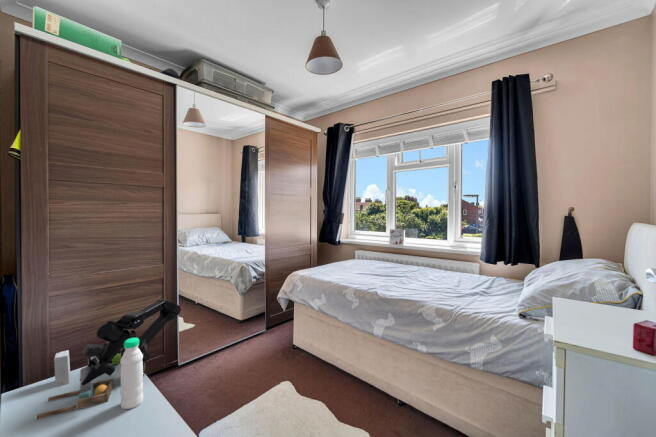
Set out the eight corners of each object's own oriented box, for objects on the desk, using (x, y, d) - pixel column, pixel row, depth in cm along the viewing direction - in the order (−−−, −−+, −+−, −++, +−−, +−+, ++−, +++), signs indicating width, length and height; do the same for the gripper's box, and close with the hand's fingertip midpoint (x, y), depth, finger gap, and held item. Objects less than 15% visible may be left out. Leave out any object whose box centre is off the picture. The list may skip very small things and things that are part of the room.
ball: (108, 381, 113) (95, 384, 111) (105, 386, 109) (92, 390, 107) (108, 390, 113) (96, 393, 111) (106, 396, 109) (93, 400, 108)
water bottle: (131, 411, 102) (131, 345, 101) (116, 408, 103) (115, 343, 102) (147, 398, 109) (147, 336, 108) (132, 395, 110) (132, 334, 109)
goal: (113, 385, 117) (113, 378, 116) (107, 401, 107) (107, 393, 107) (49, 400, 107) (49, 392, 107) (36, 419, 97) (36, 411, 97)
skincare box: (69, 383, 117) (68, 355, 117) (54, 387, 114) (53, 358, 114) (70, 376, 122) (70, 349, 122) (56, 379, 119) (55, 352, 119)
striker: (93, 391, 111) (93, 364, 111) (89, 401, 106) (88, 372, 106) (83, 394, 110) (82, 366, 109) (78, 403, 105) (77, 374, 104)
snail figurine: (104, 365, 130) (103, 341, 130) (119, 359, 136) (119, 335, 135) (110, 369, 127) (109, 343, 127) (125, 362, 133) (125, 338, 133)
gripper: (93, 328, 116) (57, 365, 108) (104, 343, 104) (64, 386, 96) (116, 340, 122) (84, 376, 114) (129, 355, 111) (94, 396, 103)
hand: (81, 382), depth 107 cm, fingers closed on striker, 3 cm apart
